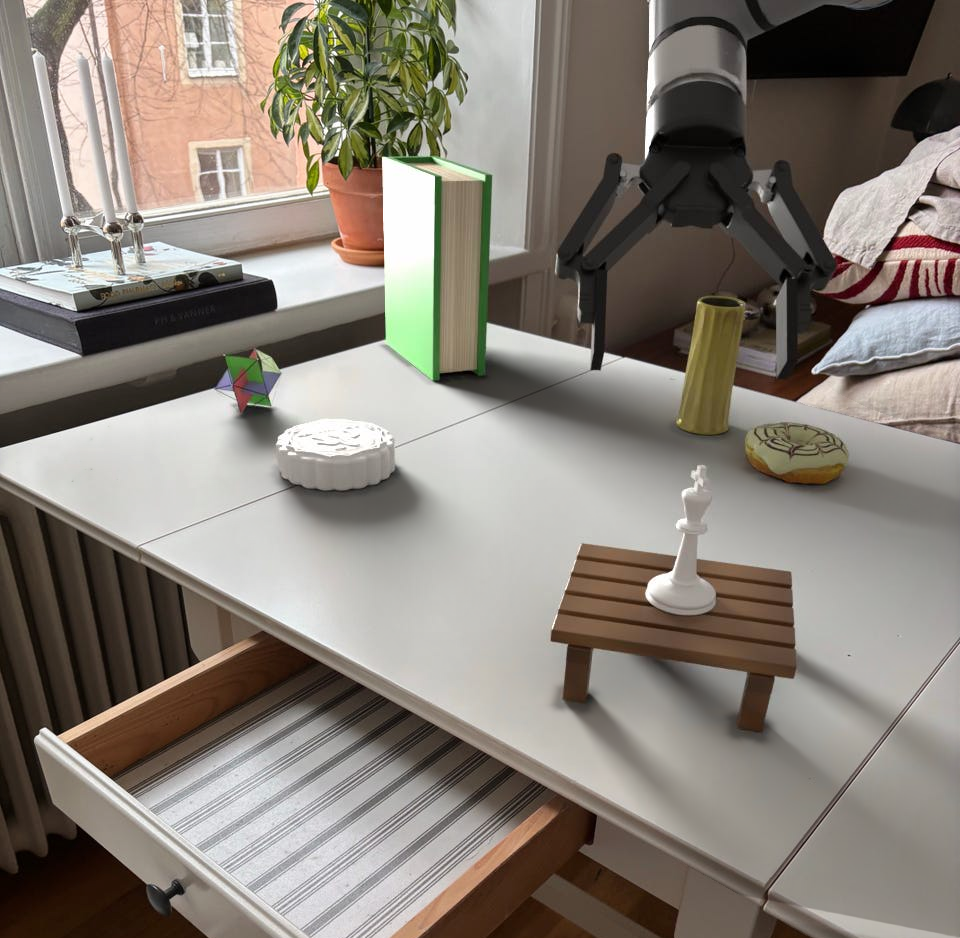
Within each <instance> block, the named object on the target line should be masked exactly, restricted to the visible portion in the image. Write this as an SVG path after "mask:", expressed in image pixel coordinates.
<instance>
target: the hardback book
mask: <svg viewBox="0 0 960 938" xmlns="http://www.w3.org/2000/svg"><path fill="white" fill-rule="evenodd" d="M382 188H383V189H382V194H383V195H382V197H383V198H382V199H383V245H384V247H383V251H384V257H383V258H384V306H385V307H384V308H385V309H384V311H385V315H384V316H385V344H386V345H387V346H388V347H390V348H391V349H392V350H394V352H396V353H397V354H398V355H400V356H401V357H402V358H403V359H404V360H406V361H407V362H408V363H410V364H411V365H412V366H413V367H415V368H416V369H417V370H418V371H420V373H422V374H423V375H424V376H426V377H427V378H428V379H430V380H431V381H435V382H436V381H440V374H445V373H447V374H448V373H453V372H454V373H455V372H456V373H457V372H463V371H471V372H473V373H474V374H476V376H478V377H480V376H485V375H486V356H487V332H488V330H487V329H488V308H489V307H488V305H489V302H488V301H489V281H490V280H489V278H490V277H489V276H490V252H491V251H490V250H491V223H492V200H493V199H492V196H493V174H491V173H488V172H486V171H482V170H479V169H476V168H473V167H470V166H467V165H464V164H461V163H458V162H456V161H453V160H449V159H446V158H443V157H441V156H438V155H411V156H410V155H409V156H405V155H404V156H382Z"/></svg>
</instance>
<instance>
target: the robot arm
mask: <svg viewBox="0 0 960 938" xmlns="http://www.w3.org/2000/svg"><path fill="white" fill-rule="evenodd" d="M892 1H893V0H647V4H648V13H649V20H648V21H649V22H648V23H649V25H648V27H649V31H648V32H649V34H648V46H649V47H648V66H647V67H648V68H647V69H648V70H647V93H646V120H645V146H644V161H643V162H642V164H634V163H627V162H623V156H622V155H621V154H620V153H617V152H610V153H609V154H608V155H607V156H606V158H605V162H604V169H603V175H602V179H601V180H600V182H599V183H598V184H597V187H596V188H595V190H594V191H593V193H592V194H591V196H590V198H589V199H588V201H587V202H586V204H585V206H584V207H583V209H582V211H581V212H580V214H579V215H578V217H577V219H576V220H575V221H574V223H573V225H572V226H571V228H570V229H569V231H568V232H567V234H566V236H565V238H564V239H563V241H562V242H561V244H560V246H559V247H558V248H557V251H556V258H555V270H554V274H555V276H556V277H557V278H558V279H560V280H567V279H570V280H572V281H574V282H575V283H576V284H577V290H578V294H577V295H578V296H577V315H576V316H577V320H578V322H579V324H589V325H591V342H590V343H591V345H590V346H591V347H590V367H589V369H590V370H589V371H598V372H600V371H601V370H602V365H603V362H604V361H603V360H604V357H605V356H604V355H605V349H606V346H605V345H606V322H607V321H606V319H607V293H608V272H609V271H610V270H611V269H612V268H613V267H614V266H615V265H616V264H618V262H619V261H621V260H622V259H623V257H624V256H626V254H627V253H629V252H630V251H631V250H632V249H633V247H635V246H636V245H637V244H638V243H639V242H640V241H641V240H642V239H643V238H644V237H645V236H646V235H647V234H648V235H649V234H651V233H652V232H653V231H654V230H656V229H657V228H658V226H659V225H661V224H662V222H665V223H668V224H670V227H671V228H686V227H690V226H691V227H696V228H699V229H705V230H706V229H707V230H709V229H710V230H711V229H712V230H713V227H714V226H716V225H718V226H719V228H720V229H722V231H724V233H725V234H726V236H728V237H729V238H731V239H732V238H734V239H736V240H737V241H738V242H739V244H741V246H743V248H744V249H745V250H746V251H747V252H748V253H749V254H750V255H751V257H752V258H753V259H754V260H755V261H756V262H757V263H758V264H759V265H760V266H761V267H762V268H763V269H764V270H765V272H766V273H767V274H768V275H769V276H770V277H771V278H772V280H774V282H776V284H777V285H778V286H779V287H780V290H779V293H778V295H777V297H776V298H775V323H776V325H775V328H776V329H775V332H776V333H775V335H776V336H775V337H776V339H775V343H776V344H775V345H776V348H775V349H776V350H775V351H776V353H775V354H776V359H775V360H776V380H788V378H789V377H790V375H791V374H792V372H793V370H794V368H795V367H796V365H797V364H798V361H799V348H798V347H799V346H798V345H799V343H798V342H799V341H798V340H799V339H798V338H799V337H798V335H800V334H801V335H802V334H803V333H804V332H805V330H806V328H807V326H808V325H809V322H810V321H811V318H812V311H811V308H812V307H811V305H812V303H811V302H812V299H811V297H812V296H811V294H812V293H811V291H816V292H822V291H824V290H825V289H826V287H827V286H828V284H829V283H830V281H831V280H832V277H833V276H834V273H835V272H836V270H837V268H838V263H837V261H836V259H835V257H834V255H833V254H832V251H831V250H830V248H829V246H828V245H827V243H826V241H825V240H824V238H823V236H822V234H821V232H820V231H819V229H818V227H817V226H816V224H815V222H814V220H813V218H812V217H811V215H810V213H809V212H808V210H807V208H806V207H805V205H804V202H803V201H802V199H801V198H800V196H799V194H798V193H797V191H796V189H795V186H794V183H793V176H792V175H793V174H792V169H791V165H790V163H789V162H788V161H787V160H784V159H779V160H777V161H775V163H774V164H773V166H772V168H766V169H765V168H764V169H752V167H751V165H750V164H749V162H748V159H747V107H746V105H747V96H748V95H747V56H748V55H747V51H748V50H747V49H748V41H749V40H751V39H753V38H755V37H757V36H759V35H762V34H764V33H765V32H769V31H772V30H773V29H775V28H777V27H778V26H780V25H782V24H784V23H786V22H789V21H791V20H792V19H795V18H797V17H800V16H802V15H804V14H806V13H808V12H811V11H813V10H815V9H817V8H819V7H822V6H824V5H830V6H831V5H832V6H842V7H845V8H847V9H851V10H857V11H863V10H864V11H867V10H870V9H873V8H874V9H875V8H877V7H881V6H884V5H886V4H889V3H891V2H892ZM634 185H637V188H638V190H639V191H640V192H641V194H642V195H643V196H642V198H641V200H640V202H639V203H638V204H637V205H636V206H635V207H634V208H633V209H632V210H631V211H629V213H628V214H627V215H626V216H625V217H623V219H621V220H620V221H619V222H618V224H616V225H615V226H614V227H613V228H612V229H611V230H610V231H609V232H608V233H607V234H606V235H605V236H604V237H603V238H602V239H601V240H600V241H598V243H596V244H595V245H594V246H593V247H592V249H590V250H589V251H588V252H587V253H586V251H587V250H588V248H589V246H590V245H591V243H592V241H593V240H594V238H595V237H596V235H597V234H598V232H599V230H600V229H601V227H602V225H603V224H604V222H605V220H606V219H607V217H608V215H609V214H610V212H611V211H612V209H613V207H614V205H615V202H616V198H621V197H623V195H625V194H626V193H627V192H628V190H629V189H630V188H631V187H632V186H634ZM752 190H753V191H755V192H756V193H757V194H758V196H759V198H760V202H761V203H762V204H764V205H765V204H767V207H768V211H769V214H770V216H771V218H772V220H773V222H774V223H775V225H776V227H777V229H778V230H779V232H778V231H777V229H775V227H774V226H772V225H771V223H770V222H769V221H768V220H767V219H766V218H765V217H764V215H762V214H761V213H760V212H759V211H758V210H757V208H756V205H755V201H754V199H753V198H752V197H751V195H750V194H749V191H752ZM585 253H586V254H585Z"/></svg>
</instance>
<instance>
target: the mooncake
mask: <svg viewBox="0 0 960 938" xmlns="http://www.w3.org/2000/svg"><path fill="white" fill-rule="evenodd" d="M395 442H396V440H395V438H394V436H392V435H391V433H390V431H388V429H387V430H386V429H384V428H383V427H380V426H379V425H376V424H374V423H373V422H365V421H354V420H349V419H346V418H335V419H334V418H333V419H330V418H322V419H319V420H317V421H316V420H315V421H312V422H309V423H303V424H298V425H294V426H293V427H292V428H288V429H286V430H284V433H283V434H281V435H279V436H278V437H277V442H276V443H275V450H276V462H277V470H278V472H280V476H281V478H282V479H285V480H288V481H289V482H290V483H291V484H292V485H296V486H302V487H303V488H305V489H310V490H311V489H312V490H313V489H318V490H319V491H322V492H323V491H324V492H327V491H328V492H329V491H339V492H340V491H341V492H343V491H344V492H345V491H349V490H350V489H351V490H352V489H354V490H360V489H364V488H366V487H367V486H375V485H378V484H379V483H380V482H381V481H384V480H387V479H389V477H390V476H391V474H393V473H394V472H395V470H396V445H395V444H396V443H395Z"/></svg>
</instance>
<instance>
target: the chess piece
mask: <svg viewBox="0 0 960 938" xmlns="http://www.w3.org/2000/svg"><path fill="white" fill-rule="evenodd" d="M706 474H707V466H706V465H704V464H697V466H696V469H695V470H691V474H690V478H691V479H693V480H694V484H693V487H688V488H685V489H683V491H682V492H681V499H682V500H681V501H682V503H683V508H684V509H683V510H684V515H685V518H680V519H679V520H677V522H676V524H675V528H676V529H677V530H678V531H679V532H681V533H683V535H682V539H681V542H680V545H679V549H678V552H677V555H676V556H677V559H676V563H675V566H674V569H673V571H671V572H669V573H667V574H662V575H659V576H656V577H655V578H653V579H652V580H651V581H650V582H649V584H648V588H647V590H646V598H647V600H648V601H649V602H650V603H651V604H652V605H653V606H655V607H656V608H658V609H660V610H663V611H665V612H668V613H672V614H677V615H699V614H703V613H706V612H708V611H710V610H711V609H712V608H713V607H714V606H715V603H716V599H715V597H716V592H715V590H714V588H713V587H712V585H711V584H709V583H708V582H707V581H705V580H703V579H701V578H700V577H699V576H698V575H697V573H696V565H697V559H698V541H699V540H698V539H699V536H700V535H704V534H706V533H707V532H708V531H709V528H708V524H707V523H706V522H705V521H704V520H702V519H703V516H705V514H706V511H707V509H708V507H709V506H710V504H711V502H712V500H713V494H712V492H710V491H709V490H707V489H705V488H704V487H709V485H710V479H709V478H708V477H707V476H706Z"/></svg>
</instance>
